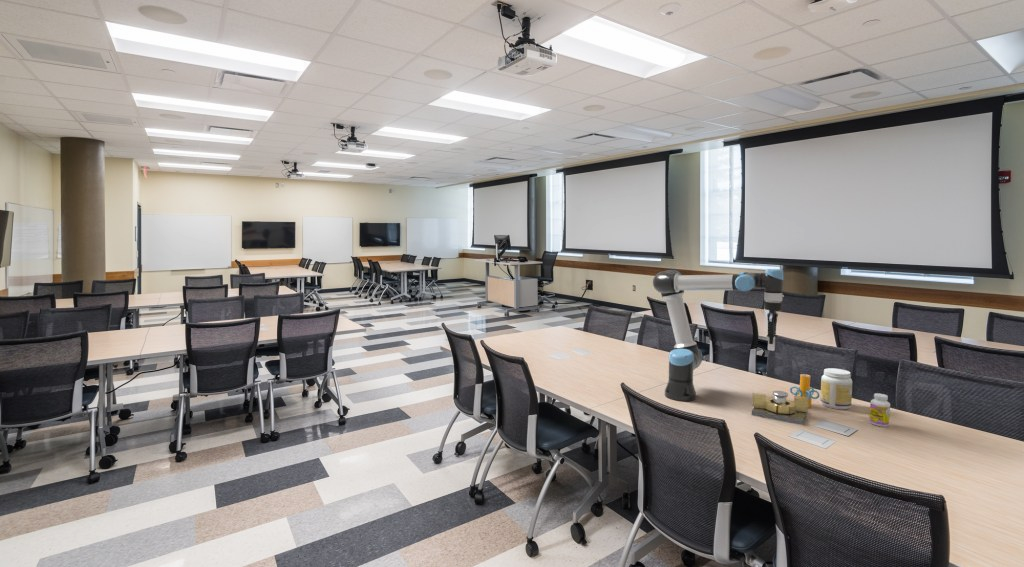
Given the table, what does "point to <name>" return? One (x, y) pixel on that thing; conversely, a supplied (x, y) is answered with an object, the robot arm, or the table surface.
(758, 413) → the flange plate
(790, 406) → the tan handled ring
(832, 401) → the supplement tub
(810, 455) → the table surface
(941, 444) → the table surface
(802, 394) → the cylinder
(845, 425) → the table surface
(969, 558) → the table surface
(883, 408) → the supplement bottle
